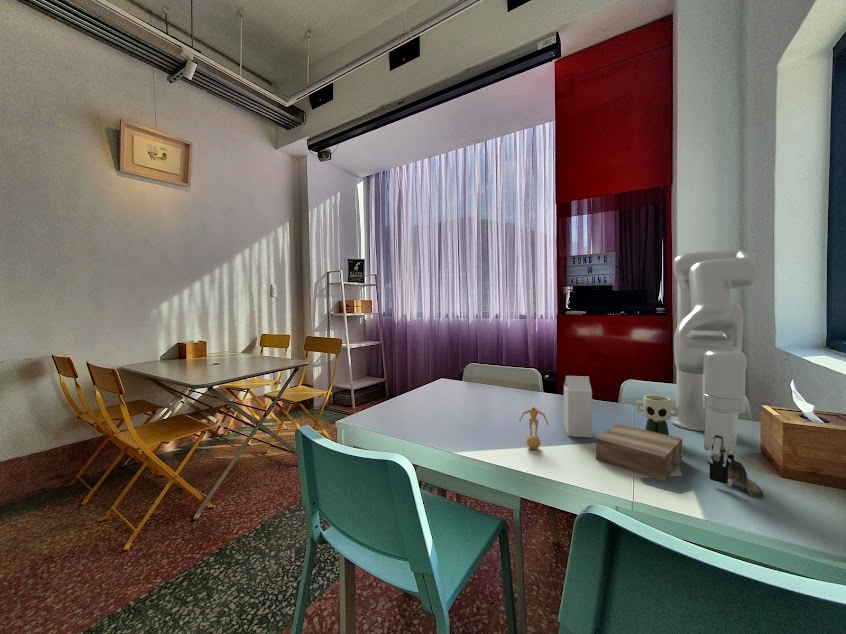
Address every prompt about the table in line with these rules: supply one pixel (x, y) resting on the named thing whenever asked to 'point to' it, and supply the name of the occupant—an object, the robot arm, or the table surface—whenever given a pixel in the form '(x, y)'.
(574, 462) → the table surface
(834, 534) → the table surface
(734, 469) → the eagle figurine
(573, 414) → the milk carton
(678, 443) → the walnut block
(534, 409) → the figurine
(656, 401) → the character mug
